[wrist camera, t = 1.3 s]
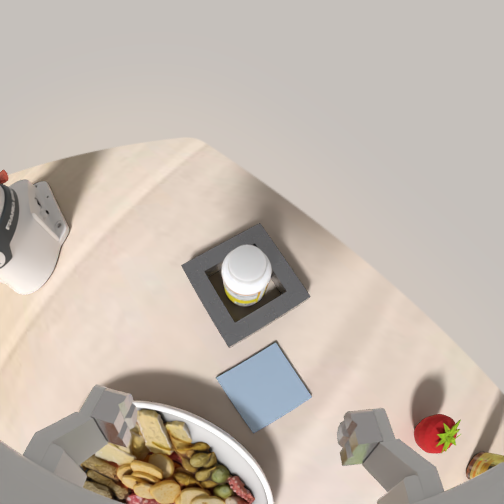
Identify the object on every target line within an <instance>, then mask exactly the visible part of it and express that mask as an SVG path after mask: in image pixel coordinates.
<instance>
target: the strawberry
mask: <svg viewBox="0 0 504 504" xmlns="http://www.w3.org/2000/svg"><path fill="white" fill-rule="evenodd" d="M459 423H460V420H459V421H458V422H457V423H456V424H455V422H454V421H453V419H452V418H450V417H448V416H446V415H442V414H436V415H433V416H429V417H426V418H424V419H423V420H422V421H421V422H420V423H419V424H418V425H417V426H416V428H415V430H414V437H415V441H416V443H417V445H418V446H419V447H420V448H422V449H423V450H424V451H425V452H428V453H442V452H444V451H445V452H446V450H447V449H448V448H449V447H450V446H451V445H452V444H454V445H456V443H455V439H456V438H457V437H458V436H457V437H456V435H457V432H458V431H459V430H460V429H458V430H457V427H458V425H459ZM460 435H461V434H460Z"/></svg>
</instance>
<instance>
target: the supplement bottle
mask: <svg viewBox="0 0 504 504" xmlns="http://www.w3.org/2000/svg"><path fill="white" fill-rule="evenodd" d="M271 273H272V268H271V263H270V261H269V259H268V257H267V256H266V255H265V254H264V253H263V252H262V251H261V250H260V249H259V248H258V247H256V246H253V245H241V246H239V247H237V248H235V249H234V250H232V251H231V252H230V253H229V254H228V255H227V256H226V257H225V259H224V261H223V264H222V278H223V284H224V290H225V293H226V295H227V297H228V299H229V300H230V301H231V302H233V303H234V304H236V305H239V306H251V305H254V304H256V303H257V302H259V301H260V300H261V298H262V297H263V295H264V293H265V291H266V288H267V286H268V283H269V281H270V278H271Z"/></svg>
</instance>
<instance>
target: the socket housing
mask: <svg viewBox="0 0 504 504" xmlns="http://www.w3.org/2000/svg"><path fill="white" fill-rule="evenodd" d="M241 245H253V246H256V247H258V248H259V249H260V250H261V251H262V252H263V253H264V254H265V255H266V256H267V257H268V259H269V261H270V263H271V268H272V273H271V279H272V280H273V282H274V284H275V285H276V287H277V288H278V290H279V291H280V293H281V294H282V295H280V296H279V297H277V298H275V299H274V300H272V301H270V302H269V303H267V304H265V305H264V306H262V307H261V308H259V309H257V310H256V311H254V312H252V313H251V314H249V315H247V316H246V317H244V318H242V319H240V320H239V321H237V322H234V320H233V319H232V317H231V316H230V314H229V312H228V311H227V309H226V307H225V306H224V304H223V302H222V301H221V299H220V297H219V296H218V294H217V292H216V291H215V289H214V287H213V286H212V284H211V282H210V280H209V279H208V277H209V276H211V275H213V274H214V273H216V272H218V271H220V270H222V264H223V261H224V259H225V257H226V256H227V255H228V254H229V253H230V252H231V251H232V250H234V249H235V248H237V247H239V246H241ZM181 266H182V268H183V269H184V271H185V273H186V275H187V277H188V279H189V280H190V282H191V284H192V286H193V288H194V289H195V291H196V293H197V295H198V297H199V298H200V300H201V302H202V304H203V305H204V307H205V309H206V310H207V312H208V314H209V316H210V317H211V319H212V321H213V322H214V324H215V326H216V327H217V329H218V331H219V332H220V334H221V336H222V337H223V339H224V341H225V342H226V344H227V345H228V347H229V348H231V347H232V346H234V345H236V344H237V343H239V342H241V341H243V340H244V339H246V338H248V337H249V336H251V335H253V334H254V333H256V332H258V331H259V330H261V329H262V328H264V327H266V326H267V325H269V324H271V323H272V322H274V321H275V320H277V319H279V318H280V317H282V316H283V315H285V314H286V313H288V312H290V311H291V310H293V309H294V308H296V307H297V306H299V305H300V304H302V303H303V302H305V301H306V300H307V299H308V298H309V297H310V295H309V294H308V292H307V291H306V289H305V288H304V286H303V285H302V283H301V282H300V280H299V279H298V277H297V276H296V274H295V273H294V271H293V270H292V269H291V267H290V266H289V264H288V263H287V261H286V260H285V258H284V257H283V255H282V254H281V252H280V251H279V250H278V248H277V247H276V245H275V244H274V242H273V241H272V239H271V238H270V237H269V235H268V234H267V232H266V231H265V229H264V228H263V227H262V225H261V224H260V223H259V224H257V225H255V226H253V227H251V228H250V229H248V230H246V231H244V232H242V233H240V234H238V235H236V236H234V237H233V238H231V239H229V240H227V241H225V242H223V243H221V244H220V245H218V246H216V247H214V248H212V249H210V250H208V251H207V252H205V253H203V254H201V255H199V256H197V257H196V258H194V259H192V260H190V261H188V262H186V263H185V264H183V265H181Z"/></svg>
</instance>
